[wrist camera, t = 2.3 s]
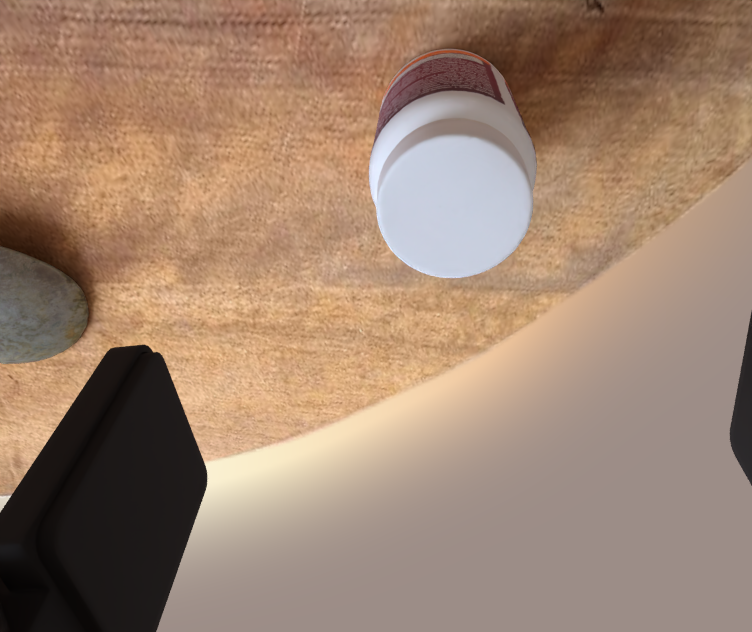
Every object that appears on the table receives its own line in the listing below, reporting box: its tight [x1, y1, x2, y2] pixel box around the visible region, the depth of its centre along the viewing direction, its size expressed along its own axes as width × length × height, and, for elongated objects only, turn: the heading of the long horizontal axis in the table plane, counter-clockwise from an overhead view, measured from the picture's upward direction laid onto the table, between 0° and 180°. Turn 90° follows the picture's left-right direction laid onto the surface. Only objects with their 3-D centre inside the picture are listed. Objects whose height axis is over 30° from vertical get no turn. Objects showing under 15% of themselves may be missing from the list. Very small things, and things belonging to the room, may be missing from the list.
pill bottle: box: [369, 49, 537, 278], centre depth 21 cm, size 5×5×8 cm
